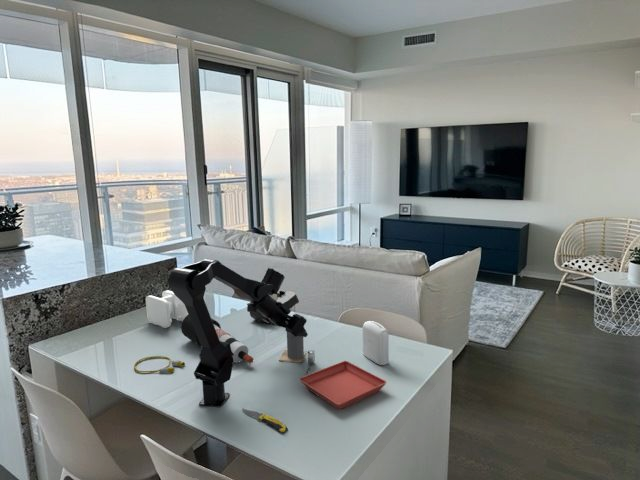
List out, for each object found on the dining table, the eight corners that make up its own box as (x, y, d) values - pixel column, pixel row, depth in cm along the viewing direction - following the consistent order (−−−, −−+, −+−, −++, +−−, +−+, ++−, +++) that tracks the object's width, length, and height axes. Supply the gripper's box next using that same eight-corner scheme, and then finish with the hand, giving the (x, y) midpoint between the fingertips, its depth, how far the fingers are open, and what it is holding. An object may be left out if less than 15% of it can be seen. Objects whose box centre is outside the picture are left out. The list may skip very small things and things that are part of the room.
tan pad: (301, 362, 142) (301, 361, 142) (278, 361, 143) (278, 360, 143) (306, 352, 149) (306, 351, 149) (284, 351, 150) (284, 350, 150)
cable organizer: (146, 322, 180) (143, 295, 178) (168, 314, 188) (166, 288, 186) (167, 330, 171) (165, 301, 169) (190, 322, 179) (188, 294, 177)
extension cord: (151, 383, 132) (151, 377, 131) (127, 367, 142) (126, 361, 142) (187, 368, 141) (187, 362, 140) (162, 354, 151) (161, 349, 151)
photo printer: (360, 354, 147) (360, 319, 144) (371, 351, 149) (371, 316, 146) (379, 367, 138) (379, 329, 136) (390, 363, 140) (391, 326, 138)
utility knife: (235, 409, 115) (244, 404, 117) (235, 414, 115) (244, 408, 117) (282, 431, 105) (291, 425, 108) (283, 436, 105) (291, 429, 108)
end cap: (249, 321, 179) (248, 305, 178) (262, 316, 184) (261, 300, 183) (267, 326, 173) (266, 310, 172) (279, 321, 178) (279, 305, 177)
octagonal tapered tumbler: (301, 359, 143) (300, 323, 141) (286, 358, 144) (285, 322, 141) (304, 353, 148) (303, 317, 146) (289, 352, 149) (288, 317, 146)
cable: (245, 382, 139) (233, 361, 134) (188, 342, 161) (176, 324, 156) (267, 359, 145) (256, 339, 139) (209, 324, 166) (198, 305, 161)
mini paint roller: (310, 373, 135) (310, 361, 134) (303, 373, 135) (303, 360, 134) (315, 362, 142) (315, 350, 141) (308, 361, 142) (308, 350, 142)
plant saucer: (298, 388, 127) (297, 377, 126) (345, 369, 138) (345, 359, 137) (338, 416, 113) (338, 404, 112) (388, 392, 124) (388, 381, 123)
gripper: (300, 292, 132) (329, 318, 140) (267, 279, 146) (295, 304, 155) (279, 323, 128) (310, 348, 137) (247, 307, 143) (277, 331, 151)
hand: (298, 331), depth 145 cm, fingers open, 9 cm apart
